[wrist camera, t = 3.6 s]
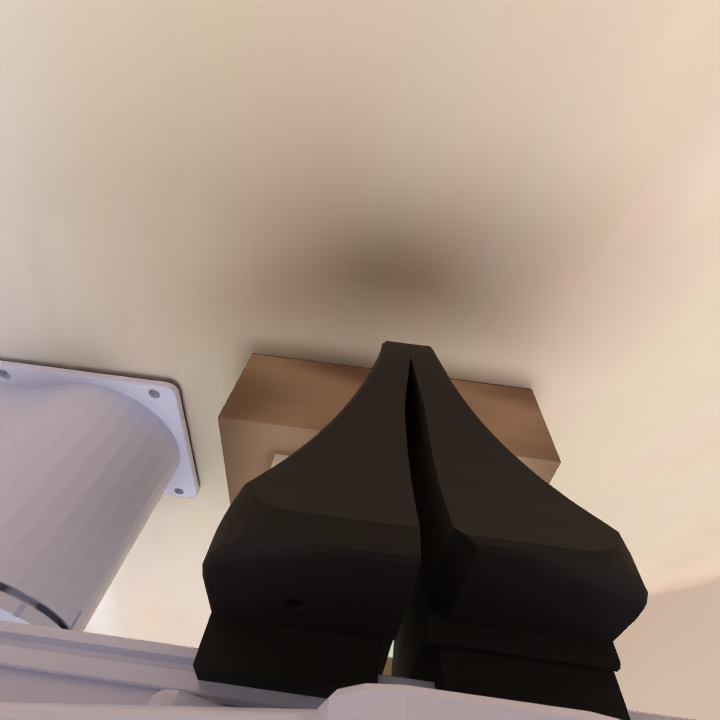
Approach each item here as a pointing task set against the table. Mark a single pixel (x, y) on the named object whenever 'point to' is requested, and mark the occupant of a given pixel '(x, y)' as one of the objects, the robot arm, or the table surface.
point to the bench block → (331, 394)
